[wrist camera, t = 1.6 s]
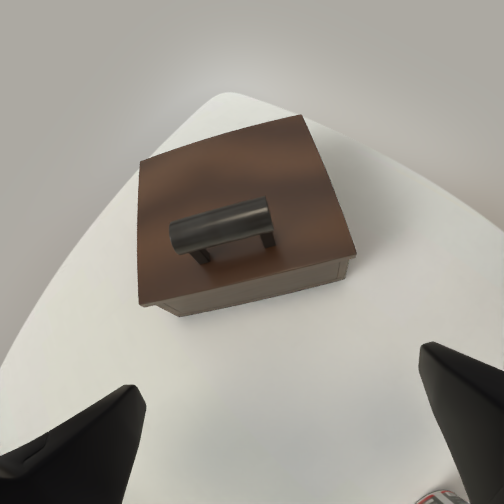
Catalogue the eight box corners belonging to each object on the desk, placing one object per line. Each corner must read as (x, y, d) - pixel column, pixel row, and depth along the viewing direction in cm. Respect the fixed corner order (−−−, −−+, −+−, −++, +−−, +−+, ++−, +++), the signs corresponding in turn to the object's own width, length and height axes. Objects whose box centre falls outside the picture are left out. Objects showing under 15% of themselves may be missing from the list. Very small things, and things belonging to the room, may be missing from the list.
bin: (344, 279, 23) (352, 249, 17) (179, 317, 24) (143, 299, 19) (306, 164, 27) (302, 120, 22) (170, 201, 29) (143, 166, 24)
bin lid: (355, 258, 17) (366, 218, 13) (143, 307, 19) (99, 285, 14) (302, 120, 22) (296, 72, 18) (143, 166, 24) (115, 129, 19)
